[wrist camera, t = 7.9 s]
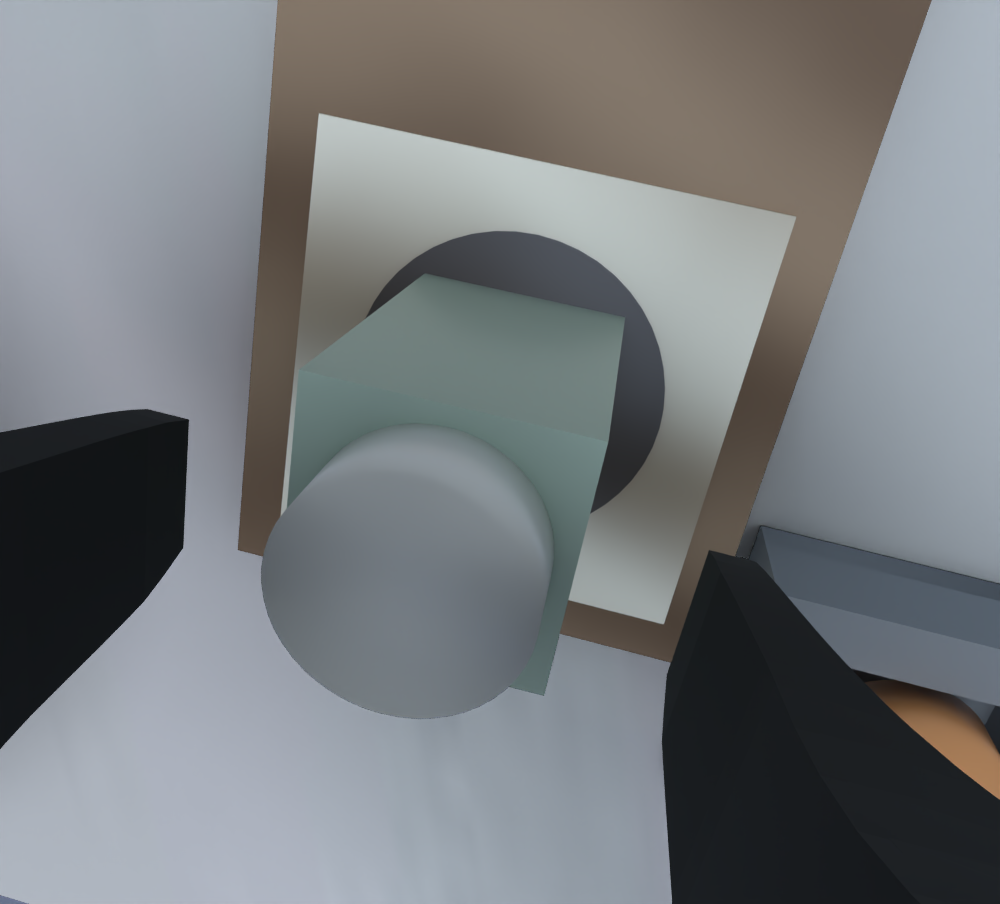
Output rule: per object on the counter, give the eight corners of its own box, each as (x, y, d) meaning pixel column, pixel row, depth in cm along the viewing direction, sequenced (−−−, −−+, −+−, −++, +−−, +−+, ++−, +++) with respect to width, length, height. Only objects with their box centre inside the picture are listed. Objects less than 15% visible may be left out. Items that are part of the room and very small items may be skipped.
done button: (945, 852, 18) (974, 926, 17) (762, 802, 19) (772, 870, 17) (1026, 709, 17) (1067, 775, 15) (824, 658, 17) (842, 717, 16)
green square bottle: (580, 498, 18) (530, 772, 11) (398, 455, 18) (229, 692, 11) (625, 317, 16) (601, 493, 9) (425, 273, 17) (247, 408, 9)
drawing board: (693, 648, 20) (696, 674, 19) (252, 533, 21) (233, 554, 20) (948, -83, 14) (969, -97, 13) (311, -203, 15) (289, -223, 14)
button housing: (954, 839, 21) (996, 942, 18) (674, 764, 21) (677, 854, 19) (1087, 606, 18) (1158, 689, 16) (760, 525, 19) (778, 593, 16)
